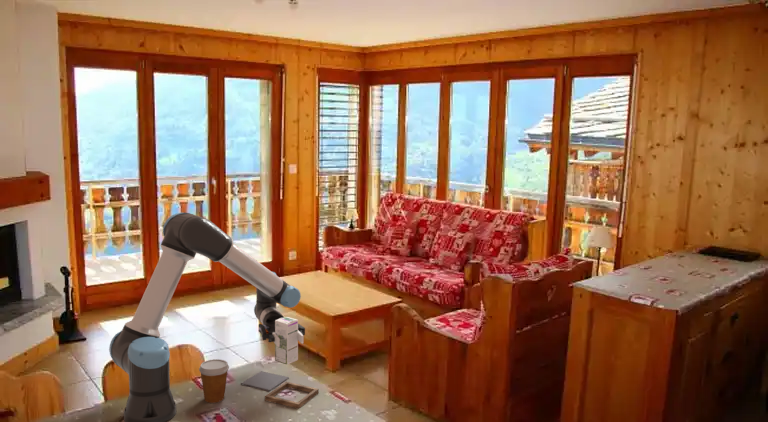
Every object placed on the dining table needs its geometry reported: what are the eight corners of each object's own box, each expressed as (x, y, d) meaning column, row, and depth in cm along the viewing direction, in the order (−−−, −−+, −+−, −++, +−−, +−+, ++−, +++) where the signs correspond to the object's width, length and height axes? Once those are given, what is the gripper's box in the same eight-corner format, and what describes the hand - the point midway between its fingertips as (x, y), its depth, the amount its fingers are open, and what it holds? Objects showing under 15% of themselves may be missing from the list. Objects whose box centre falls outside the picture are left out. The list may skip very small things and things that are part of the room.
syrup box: (298, 360, 202) (299, 318, 200) (286, 365, 197) (287, 323, 195) (286, 356, 205) (286, 315, 203) (274, 361, 200) (274, 319, 198)
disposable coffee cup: (220, 406, 191) (220, 371, 189) (193, 403, 193) (193, 368, 191) (234, 394, 200) (234, 360, 199) (208, 391, 202) (207, 357, 200)
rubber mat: (241, 384, 208) (241, 383, 208) (261, 372, 219) (261, 371, 219) (269, 391, 203) (269, 389, 203) (288, 378, 214) (288, 377, 214)
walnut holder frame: (264, 400, 196) (264, 396, 196) (286, 385, 208) (286, 381, 208) (298, 408, 191) (298, 404, 191) (318, 393, 203) (318, 388, 203)
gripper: (299, 327, 220) (319, 348, 200) (244, 333, 212) (260, 356, 191) (299, 307, 219) (320, 326, 199) (244, 313, 211) (260, 334, 190)
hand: (290, 341), depth 195 cm, fingers closed on syrup box, 7 cm apart
